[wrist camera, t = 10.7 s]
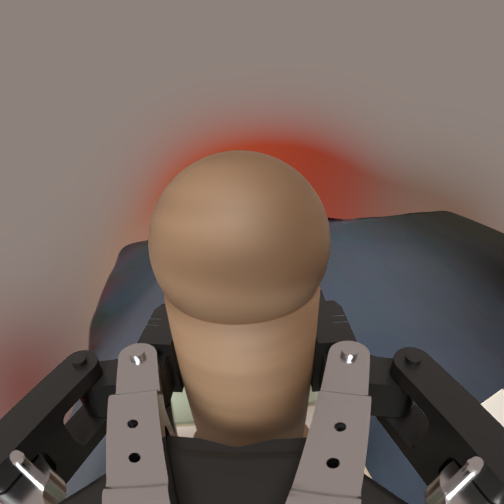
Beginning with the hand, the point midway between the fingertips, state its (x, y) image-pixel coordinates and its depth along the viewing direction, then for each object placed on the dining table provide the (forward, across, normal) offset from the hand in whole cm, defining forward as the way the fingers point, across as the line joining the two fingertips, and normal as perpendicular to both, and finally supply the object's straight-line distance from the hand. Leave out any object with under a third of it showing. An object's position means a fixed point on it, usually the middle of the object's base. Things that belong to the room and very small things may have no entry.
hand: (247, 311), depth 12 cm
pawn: (-3, 0, +8) cm, 8 cm away
